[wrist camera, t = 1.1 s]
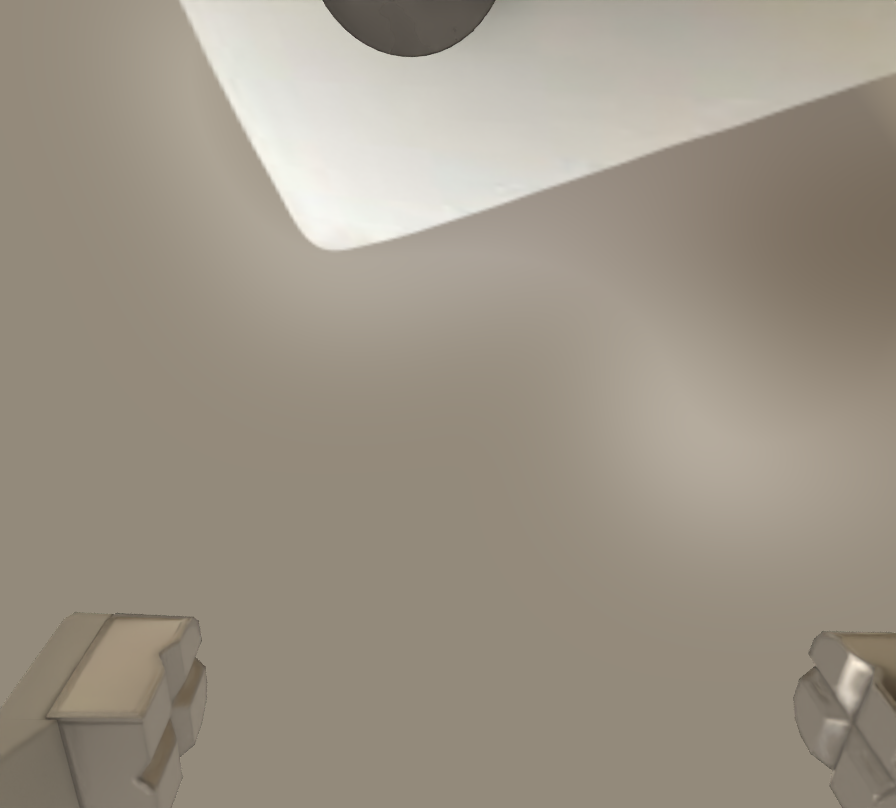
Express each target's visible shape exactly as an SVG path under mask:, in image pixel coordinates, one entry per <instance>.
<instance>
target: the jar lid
mask: <svg viewBox="0 0 896 808" xmlns="http://www.w3.org/2000/svg"><path fill="white" fill-rule="evenodd" d="M494 1H495V0H323V2H324V4H325V6H326V7H327V9H328V10H329V11H330V13H331V14H332V15H333V17H334V18H335V19H336V20H337V21H338V22H339V23H340V24H341V26H342V27H343V28H344V29H345V30H347V31H348V32H349V33H350V34H351V35H352V36H354V37H355V38H356V39H358V40H359V41H361V42H362V43H364V44H366V45H367V46H370V47H372V48H374V49H376V50H378V51H381V52H384V53H387V54H390V55H396V56H402V57H418V56H427V55H431V54H434V53H438V52H441V51H443V50H445V49H448V48H450V47H452V46H453V45H455V44H457V43H458V42H460V41H462V40H463V39H464V38H465V37H466V36H468V35H469V34H470V33H471V32H473V31H474V29H475V28H476V27H477V26H478V25H479V24H480V23H481V22H482V20H483V19H484V17H485V16H486V15H487V13H488V12H489V10H490V9H491V7H492V5H493V3H494Z"/></svg>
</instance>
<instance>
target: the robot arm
mask: <svg viewBox="0 0 896 808" xmlns="http://www.w3.org/2000/svg"><path fill="white" fill-rule="evenodd" d="M201 641H202V637H201V632H200V626H199V621H198V620H197V619H196V618H194V617H186V616H185V617H184V616H166V615H144V614H123V613H115V614H102V613H84V612H75V613H73V614H72V615H70V616H68V617H66V618H65V619H64V620H63V621H62V622H61V624H60V625H59V627H58V628H57V629H56V631H55V632H54V634H53V635H52V636H51V638H50V639H49V641H48V642H47V643H46V645H45V646H44V647H43V649H42V650H41V652H40V653H39V655H38V656H37V657H36V659H35V660H34V662H33V663H32V664H31V666H30V667H29V669H28V670H27V671H26V673H25V674H24V676H23V677H22V678H21V680H20V681H19V683H18V684H17V686H16V687H15V688H14V690H13V691H12V692H11V694H10V695H9V697H8V698H7V700H6V701H5V702H4V704H3V705H2V707H1V708H0V808H172V805H173V802H174V800H175V797H176V794H177V792H178V789H179V786H180V783H181V781H182V770H181V763H180V757H181V756H182V755H183V754H184V753H186V752H187V751H188V750H189V749H190V748H191V747H193V746H194V745H195V742H196V739H197V736H198V734H199V731H200V728H201V725H202V721H203V716H204V710H205V705H206V700H207V676H206V668H205V666H204V665H203V664H202V663H201V662H200V661H199V660H198V659H197V658H196V657H195V656H196V654H197V651H198V649H199V646H200V644H201ZM809 656H810V658H811V659H812V661H813V663H814V665H815V667H813V668H812V669H811V670H810V671H808V672H807V673H806V674H805V675H803V676H802V677H801V678H800V679H799V681H798V685H797V688H796V691H795V695H794V711H795V720H796V723H797V726H798V729H799V732H800V735H801V737H802V739H803V741H804V743H805V745H806V746H807V748H808V750H809V752H810V753H811V754H812V755H813V756H814V757H816V758H817V759H818V760H819V761H821V762H822V763H823V764H825V765H826V766H827V767H829V768H830V769H831V770H832V773H831V780H830V788H831V790H832V791H833V793H834V794H835V796H836V798H837V800H838V801H839V803H840V805H841V806H842V808H896V633H892V632H841V631H840V632H839V631H822V632H821V633H820V634H819V635H818V636H817V637H816V638H815V639H814V640H813V643H812V645H811V648H810V651H809Z"/></svg>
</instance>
